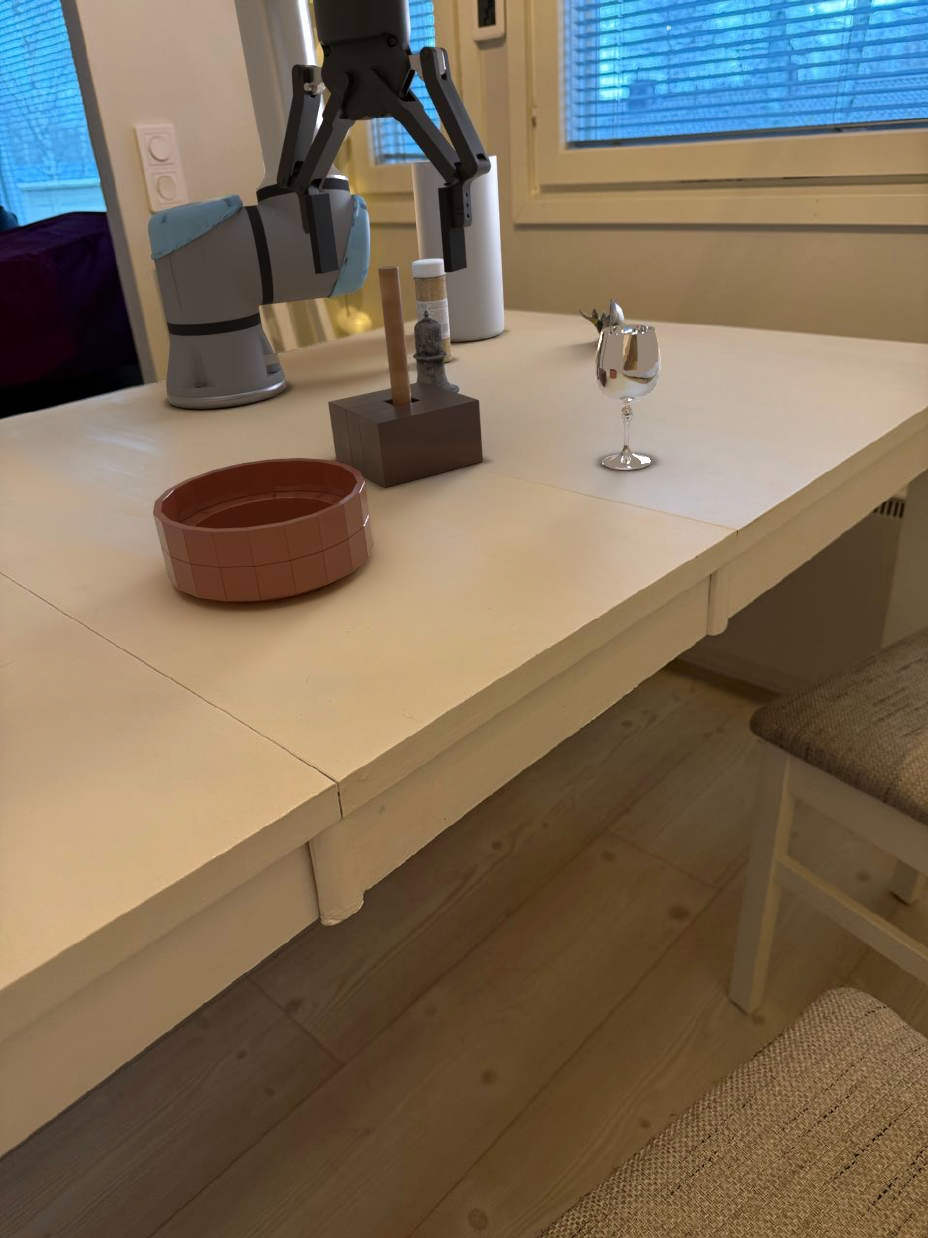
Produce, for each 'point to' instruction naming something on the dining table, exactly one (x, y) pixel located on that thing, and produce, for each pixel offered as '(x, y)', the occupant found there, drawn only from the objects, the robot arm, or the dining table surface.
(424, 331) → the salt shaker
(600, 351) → the wineglass
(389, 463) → the stick stand
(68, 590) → the dining table surface
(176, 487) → the bowl
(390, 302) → the stirring stick
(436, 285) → the sprinkles bottle
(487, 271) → the cylinder vase
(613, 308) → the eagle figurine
